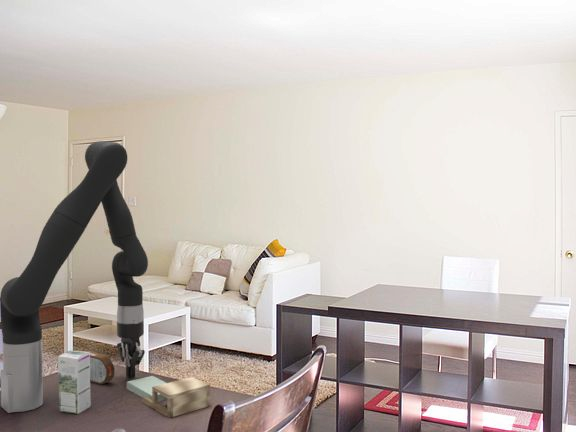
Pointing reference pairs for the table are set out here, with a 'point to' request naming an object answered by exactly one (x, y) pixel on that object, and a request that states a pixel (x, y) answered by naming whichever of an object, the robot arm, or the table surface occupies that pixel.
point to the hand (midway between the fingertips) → (130, 378)
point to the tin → (100, 368)
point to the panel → (145, 387)
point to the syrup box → (74, 381)
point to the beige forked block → (180, 397)
